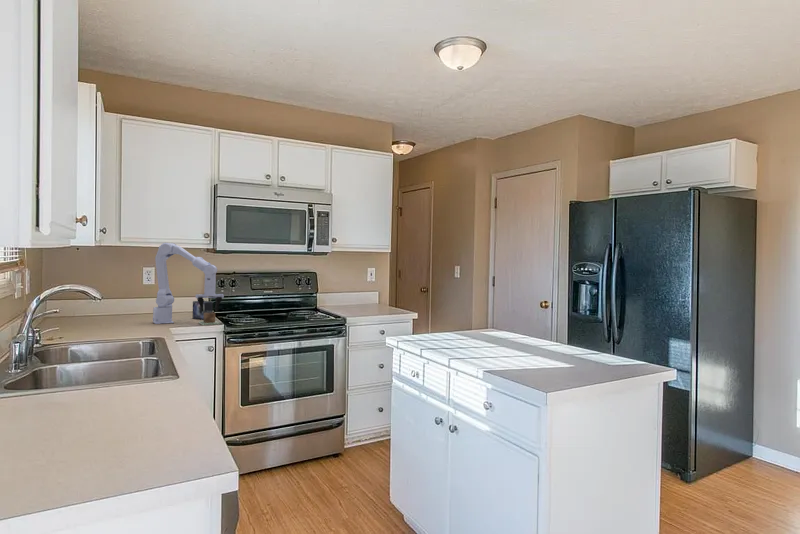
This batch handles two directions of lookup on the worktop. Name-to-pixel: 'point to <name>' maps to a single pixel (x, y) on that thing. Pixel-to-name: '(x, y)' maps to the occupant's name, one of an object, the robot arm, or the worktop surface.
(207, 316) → the walnut cube
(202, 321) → the plate
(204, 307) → the small box
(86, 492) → the worktop surface
